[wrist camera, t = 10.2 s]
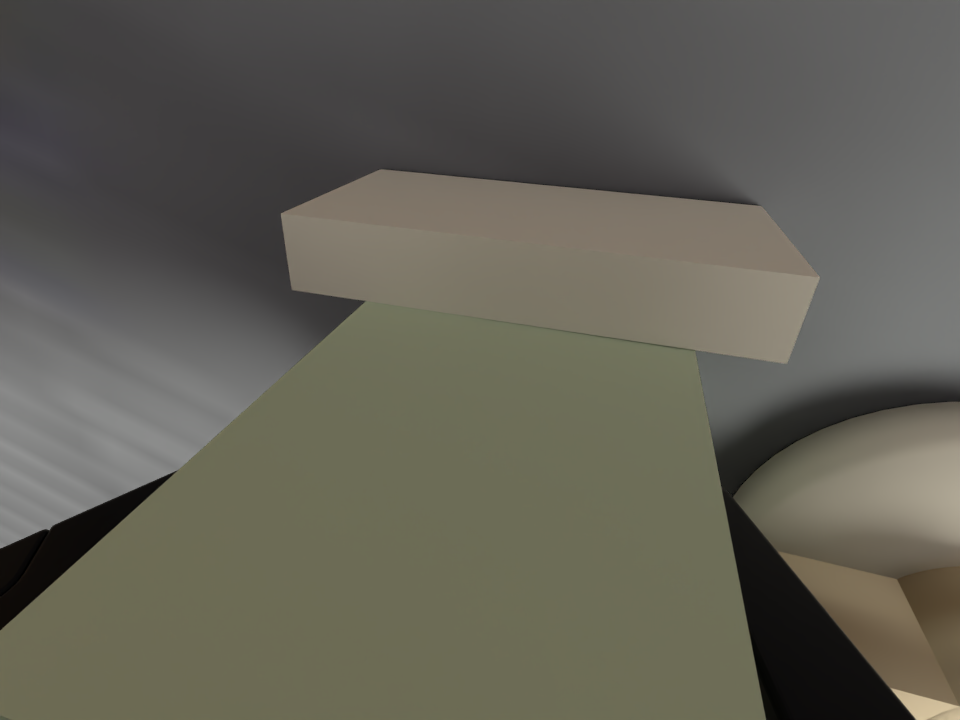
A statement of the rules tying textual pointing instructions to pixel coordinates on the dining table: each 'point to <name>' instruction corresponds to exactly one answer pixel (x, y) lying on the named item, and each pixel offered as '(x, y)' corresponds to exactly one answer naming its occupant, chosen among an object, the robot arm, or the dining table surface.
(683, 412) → the block
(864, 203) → the dining table surface
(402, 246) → the crank housing
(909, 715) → the robot arm
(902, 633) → the crank
